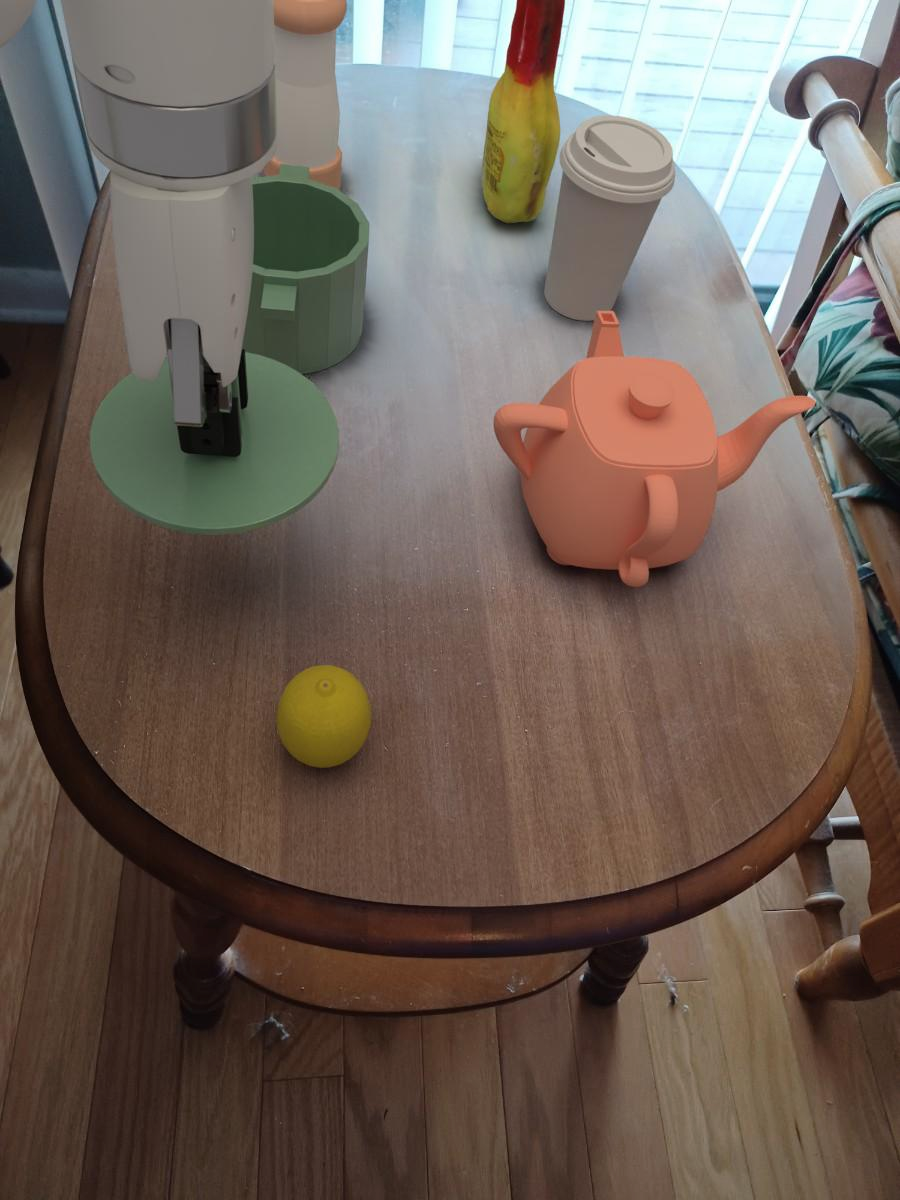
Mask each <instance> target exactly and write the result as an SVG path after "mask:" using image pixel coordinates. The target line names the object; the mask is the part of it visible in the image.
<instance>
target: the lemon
mask: <svg viewBox="0 0 900 1200" xmlns="http://www.w3.org/2000/svg"><path fill="white" fill-rule="evenodd" d="M371 723H372V709H371V704H370V701H369V697H368V693H367V691H366V690H365V688H364V686H363V684H362V683H361V681H360V680H359V679H358V678H356V677H355V676H354V675H353V674H352V673H351V672H349V671H348V670H346V669H345V668H343V667H339V666H336V665H332V664H331V665H329V664H320V665H313V666H310V667H308V668H306V669H303V670H301V672H299V673H297V674H295V676H294V677H293V678H292V679H290V681H289V682H288V683H287V685H286V686H285V688H284V689H283V692H282V693H281V695H280V697H279V700H278V705H277V710H276V728H277V733H278V735H279V738H280V740H281V743H282V745H283V746H284V747H285V749H286V750H287V752H288V753H289V754H290V755H291V756H292V757H293V758H295V759H296V760H297V761H298V762H301V763H302V764H304V765H306V766H309V767H314V768H318V769H321V768H324V769H325V768H332V767H336V766H339V765H342V764H344V763H345V762H347V761H349V760H351V759H352V758H353V757H354V756H355V755H356V754H357V753H358V752H359V751H360V750H361V748H362V747H363V745H364V743H365V742H366V740H367V739H368V735H369V732H370V728H371Z"/></svg>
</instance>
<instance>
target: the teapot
mask: <svg viewBox="0 0 900 1200" xmlns="http://www.w3.org/2000/svg"><path fill="white" fill-rule="evenodd" d="M815 405H816V400H815V399H814V398H813V397H811V396H808V395H790V396H784V397H781V398H777V399H775V400H773V401H771V402H769V403H767V404H765V405H764V406H763V407H761V408H759V409H758V410H757V411H755V412H754V413H752V415H750V416H749V417H748V418H747V419H745V420H744V421H743V422H742V423H741V424H739V425H737V426H736V427H734V428H733V429H731V430H730V431H728V432H726V433H723V434H721V435H719V436H718V435H717V430H716V426H715V420H714V416H713V413H712V410H711V407H710V405H709V404H708V401H707V399H706V397H705V395H704V392H703V390H702V389H701V387H700V385H699V384H698V382H697V381H696V379H695V378H694V377H693V376H692V374H691V373H690V372H689V371H688V370H687V369H686V368H685V367H683V366H682V365H681V364H679V363H677V362H675V361H672V360H667V359H661V358H655V357H653V358H652V357H643V356H642V357H641V356H624V351H623V344H622V338H621V333H620V322H619V320H618V317H617V315H616V313H615V311H614V310H611V311H597V312H596V316H595V320H593V326H592V330H591V334H590V338H589V345H588V348H587V353H586V358H582V359H581V360H579V361H577V362H576V363H575V364H573V366H571V367H570V368H569V369H568V370H567V371H566V372H565V373H564V374H563V375H562V376H561V377H560V378H559V379H558V380H557V381H556V382H555V383H554V384H553V385H552V386H551V387H550V388H549V390H548V391H547V392H546V393H545V395H544V396H543V398H542V399H541V400H540V402H539V403H532V402H511V403H507V404H505V405H502V406H501V407H500V408H498V409H497V410H496V412H495V414H494V415H493V431H494V434H495V439H496V440H497V442H498V444H499V446H500V448H501V450H502V451H503V452H504V453H505V455H506V456H507V458H508V459H509V460H510V462H512V464H513V465H514V466H515V467H516V469H517V470H518V471H519V474H520V475H519V476H520V484H521V490H522V494H523V499H524V501H525V504H526V507H527V510H528V513H529V514H530V518H531V519H532V522H533V524H534V526H535V528H536V530H537V532H538V534H539V536H540V538H541V540H542V541H543V543H544V544H545V546H546V552H547V554H548V556H549V557H550V559H551V560H552V561H554V562H555V563H557V564H559V565H563V566H574V567H580V568H585V569H595V570H617V571H618V574H619V577H620V579H621V581H622V582H623V583H624V584H625V585H627V586H630V587H634V588H639V587H642V586H645V585H646V584H647V583H648V581H649V575H650V571H649V569H653V568H660V567H661V568H662V567H666V566H670V565H673V564H675V563H678V562H681V561H684V560H686V559H688V558H689V557H690V556H692V555H693V554H694V553H695V552H697V551H698V549H700V548H701V545H702V544H703V542H704V540H705V538H706V535H707V533H708V530H709V529H710V525H711V522H712V520H713V519H712V518H713V515H714V512H715V509H716V508H715V507H716V502H717V496H718V495H717V494H718V492H720V491H722V490H724V489H726V488H728V487H729V486H731V485H732V484H734V483H736V481H738V480H739V479H740V478H741V477H742V476H743V475H744V474H745V473H746V472H747V471H748V470H749V469H750V467H751V466H752V464H753V463H754V461H755V460H756V458H757V456H758V455H759V453H760V452H761V450H762V448H763V447H764V445H765V444H766V442H767V441H768V440H769V438H770V437H771V436H772V434H773V433H774V432H775V431H776V430H777V429H778V428H779V427H780V426H781V425H782V424H784V423H786V422H787V421H788V420H789V419H791V418H794V417H796V416H798V415H800V414H803V413H804V412H807V411H808V410H810V409H812V408H813V407H815ZM523 429H524V430H525V429H526V432H525V434H524V437H523V438H522V433H521V432H522V430H523Z"/></svg>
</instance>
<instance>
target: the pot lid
mask: <svg viewBox="0 0 900 1200" xmlns="http://www.w3.org/2000/svg"><path fill="white" fill-rule="evenodd" d="M245 358H246V373H247V388H248V403H247V407H246V408H244V409H243V410H241V404H240V391H239V378H238V373H237V377H236V379H235V380H234V381H232V382H231V389H232V396H233V397H238V404H239V417H240V429H241V442H242V447H241V454H240V455H239V456H237V457H229V456H215V455H200V454H188V453H184V452H183V451H182V450H181V448H180V442H179V435H178V429H177V425H175V422H174V403H173V395H172V387H171V380H170V372H169V364H168V356H167V355H166V358H165V360H164V363H163V365H162V368H161V370H160V373H159V375H158V377H157V379H156V381H155V382H152V381H139V380H138V379H137V378H136V377H135V376H134V374H133V373H132V372H130V373H129V374H128V375H126V376H125V377H124V378H122V379H121V380H119V382H118V383H117V384H115V385H114V386H113V387H112V388H111V389H110V390H109V392H108V393H107V394H106V396H104V398H103V399H102V401H101V402H100V404H99V406H98V408H97V409H96V410H95V413H94V415H93V416H94V417H93V419H92V422H91V426H90V431H89V450H90V451H89V452H90V456H91V460H92V464H93V467H94V469H95V473H96V474H97V477H98V479H99V480H100V482H101V484H102V485H103V487H104V488H105V490H106V491H107V492H108V493H109V494H110V496H112V498H113V499H114V500H115V501H116V502H117V503H119V504H120V505H121V506H123V508H125V509H126V510H127V511H129V512H131V513H132V514H134V515H135V516H136V517H138V518H141V519H143V520H144V521H147V522H149V523H151V524H153V525H155V526H159V527H162V528H163V529H167V530H171V531H176V532H180V533H185V534H192V535H202V536H222V535H233V534H234V535H235V534H241V533H246V532H253V531H256V530H258V529H262V528H265V527H268V526H272V525H274V524H276V523H279V522H280V521H283V520H284V519H287V518H289V517H290V516H292V515H294V514H296V513H297V512H298V511H300V510H301V509H303V508H304V507H305V506H307V505H309V503H310V502H311V501H312V500H313V499H314V498H316V497H317V495H319V493H320V492H321V491H322V489H323V488H324V487H325V486H326V484H327V483H328V481H329V480H330V478H331V476H332V474H333V472H334V469H335V467H336V464H337V460H338V457H339V449H340V430H339V426H338V421H337V417H336V415H335V412H334V410H333V407H332V406H331V404H330V403H329V401H328V399H327V398H326V396H325V395H324V393H322V391H321V390H320V389H319V388H318V387H317V386H316V384H314V383H313V382H312V381H311V380H310V379H308V378H307V377H306V376H305V375H304V374H300V373H299V372H298V371H296V370H294V369H292V368H290V367H289V366H287V365H285V364H283V363H280V362H278V361H276V360H273V359H270V358H267V357H264V356H261V355H257V354H253V353H248V352H245ZM216 380H217V379H216V375H207V374H204V387H215V388H217V381H216Z"/></svg>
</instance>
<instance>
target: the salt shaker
mask: <svg viewBox="0 0 900 1200" xmlns="http://www.w3.org/2000/svg"><path fill="white" fill-rule="evenodd" d="M273 6H274V40H275V79H276V120H277V147H276V151H275V154H274V156H273V158H272V159H271V161H270V162H269V163H268V164H267V165H266V166H265V168H264V169H263V172H264V173H263V175H264V176H263V177H265V176H273V175H279V169H280V164H286V165H296V166H305V167H309V179H311V180H314V181H317V182H320V183H322V184H325V185H328V186H331V187H334V188H336V189H338V190H340V191H341V183H342V162H343V161H342V160H343V151H342V149H341V148H340V145H339V138H340V125H341V123H340V122H341V111H340V110H341V109H340V102H339V94H338V84H337V77H336V57H337V56H336V54H337V53H336V51H337V50H336V49H337V29H338V28H339V26H340V25H341V24H342V22H343V21H344V19H345V16H346V14H347V9H348V7H347V6H348V4H347V0H273Z"/></svg>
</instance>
